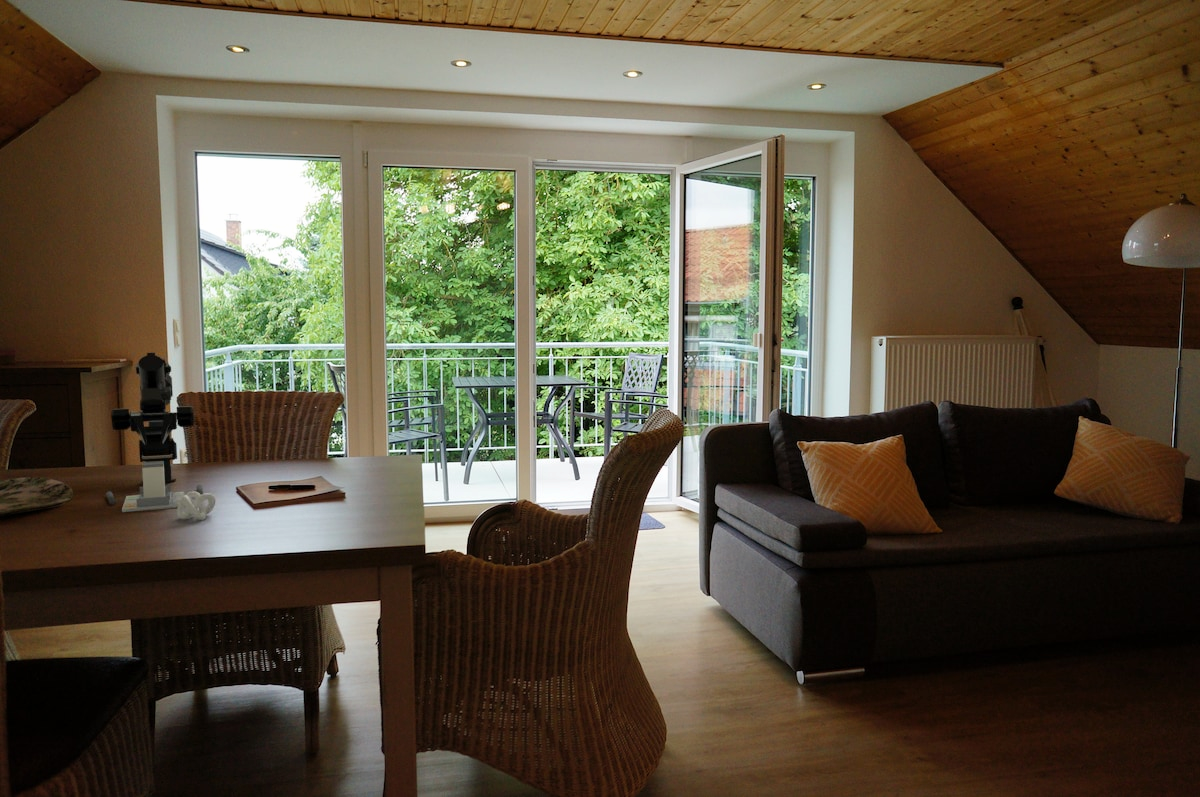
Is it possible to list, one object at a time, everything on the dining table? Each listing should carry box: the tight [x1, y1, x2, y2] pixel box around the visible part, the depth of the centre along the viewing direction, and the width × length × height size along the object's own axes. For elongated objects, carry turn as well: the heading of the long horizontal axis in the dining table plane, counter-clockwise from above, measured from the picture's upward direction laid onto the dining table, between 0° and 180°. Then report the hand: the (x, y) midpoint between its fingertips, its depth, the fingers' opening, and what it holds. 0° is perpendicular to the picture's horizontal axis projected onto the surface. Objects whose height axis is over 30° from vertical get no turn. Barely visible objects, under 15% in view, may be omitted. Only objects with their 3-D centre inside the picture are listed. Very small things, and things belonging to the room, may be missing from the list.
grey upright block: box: [141, 461, 166, 498], centre depth 206 cm, size 4×4×9 cm
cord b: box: [105, 491, 117, 506], centre depth 209 cm, size 12×1×1 cm, turn 34°
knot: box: [176, 490, 216, 521], centre depth 192 cm, size 8×8×6 cm
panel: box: [121, 484, 185, 513], centre depth 207 cm, size 16×13×3 cm
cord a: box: [196, 484, 204, 495], centre depth 218 cm, size 12×1×1 cm, turn 26°
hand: (153, 443), depth 213 cm, fingers open, 3 cm apart
